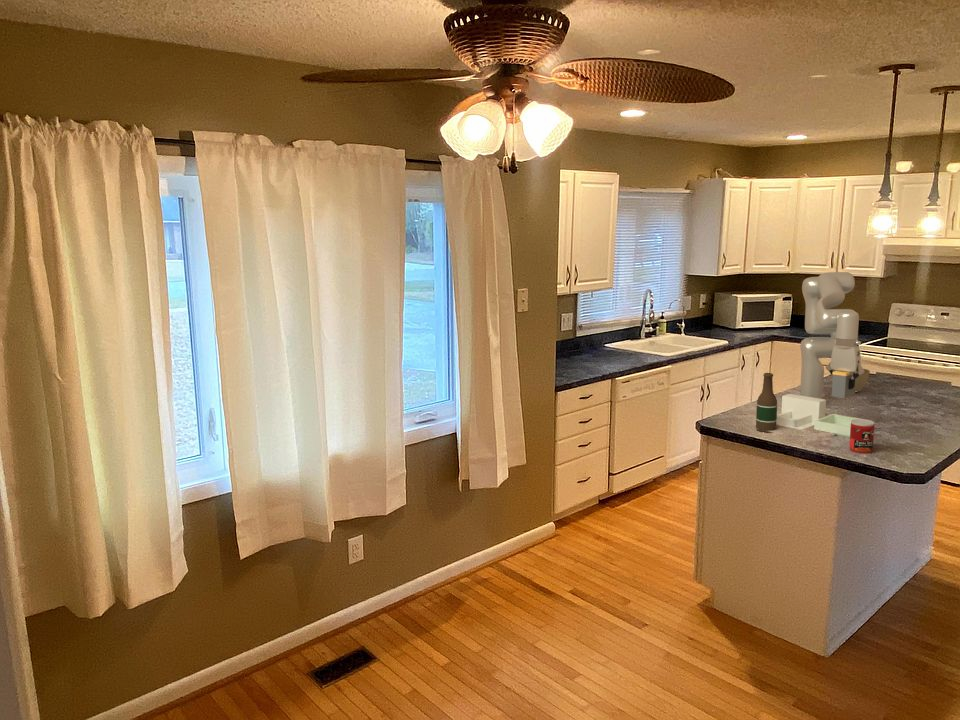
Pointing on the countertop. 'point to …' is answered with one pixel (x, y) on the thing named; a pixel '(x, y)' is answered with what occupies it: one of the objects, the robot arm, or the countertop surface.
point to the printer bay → (800, 411)
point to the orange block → (841, 385)
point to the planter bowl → (861, 380)
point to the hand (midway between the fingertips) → (843, 387)
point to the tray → (835, 425)
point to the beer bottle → (766, 407)
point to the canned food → (861, 436)
